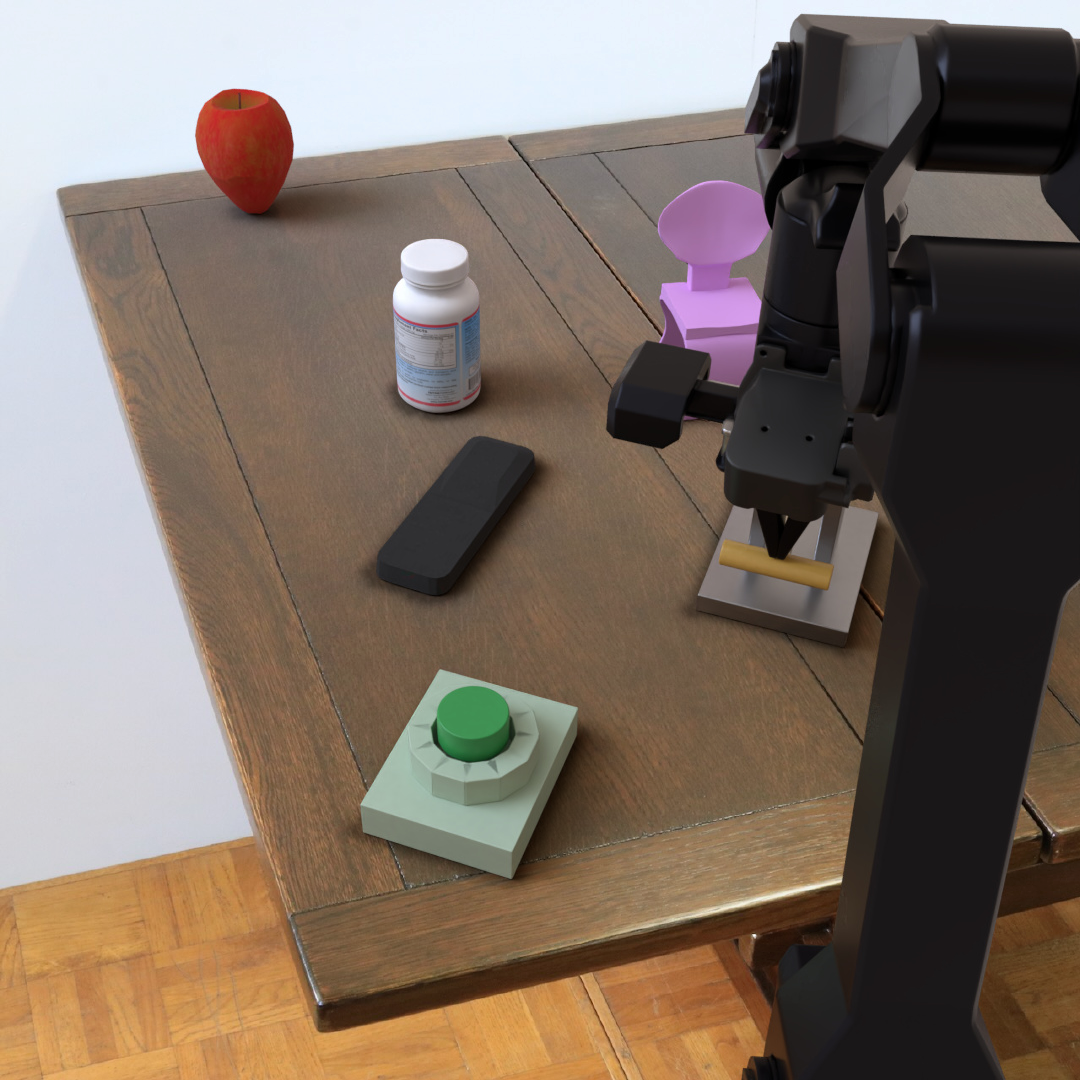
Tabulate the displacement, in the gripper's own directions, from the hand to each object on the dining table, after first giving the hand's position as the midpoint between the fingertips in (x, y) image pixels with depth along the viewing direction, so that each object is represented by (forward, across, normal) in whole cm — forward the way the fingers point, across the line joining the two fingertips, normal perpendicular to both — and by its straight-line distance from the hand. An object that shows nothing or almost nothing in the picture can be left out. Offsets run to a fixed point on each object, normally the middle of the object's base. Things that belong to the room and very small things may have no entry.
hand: (778, 554), depth 71 cm
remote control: (+8, -21, +6) cm, 23 cm away
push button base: (+8, -12, -14) cm, 20 cm away
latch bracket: (+8, 0, +9) cm, 12 cm away
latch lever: (+2, 0, +5) cm, 5 cm away
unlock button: (+5, -12, -14) cm, 19 cm away
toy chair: (+8, -10, +27) cm, 30 cm away
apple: (+8, -55, +40) cm, 69 cm away
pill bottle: (+8, -28, +19) cm, 35 cm away
